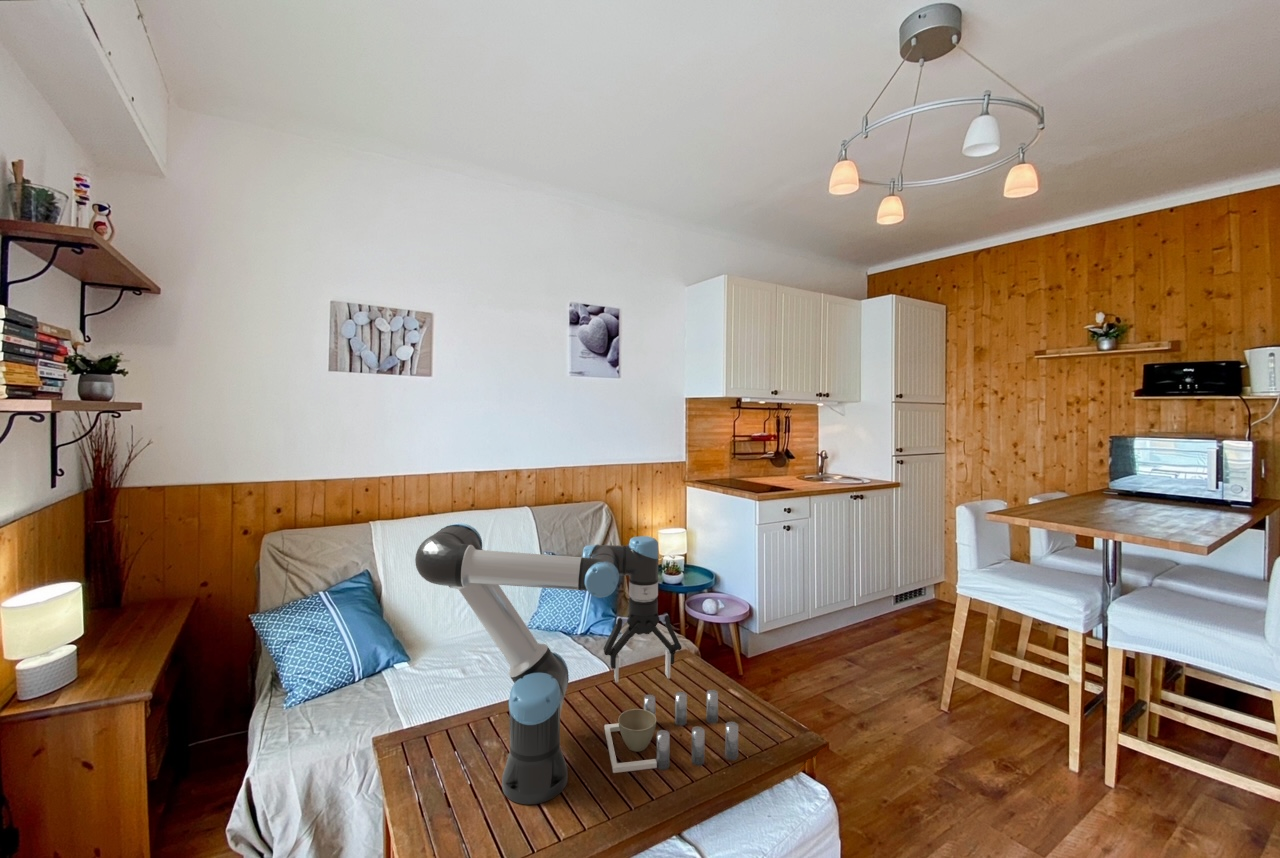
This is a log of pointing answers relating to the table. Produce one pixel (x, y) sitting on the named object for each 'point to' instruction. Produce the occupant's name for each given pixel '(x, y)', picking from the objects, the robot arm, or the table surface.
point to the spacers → (693, 730)
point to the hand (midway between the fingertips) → (642, 678)
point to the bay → (626, 765)
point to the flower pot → (637, 728)
